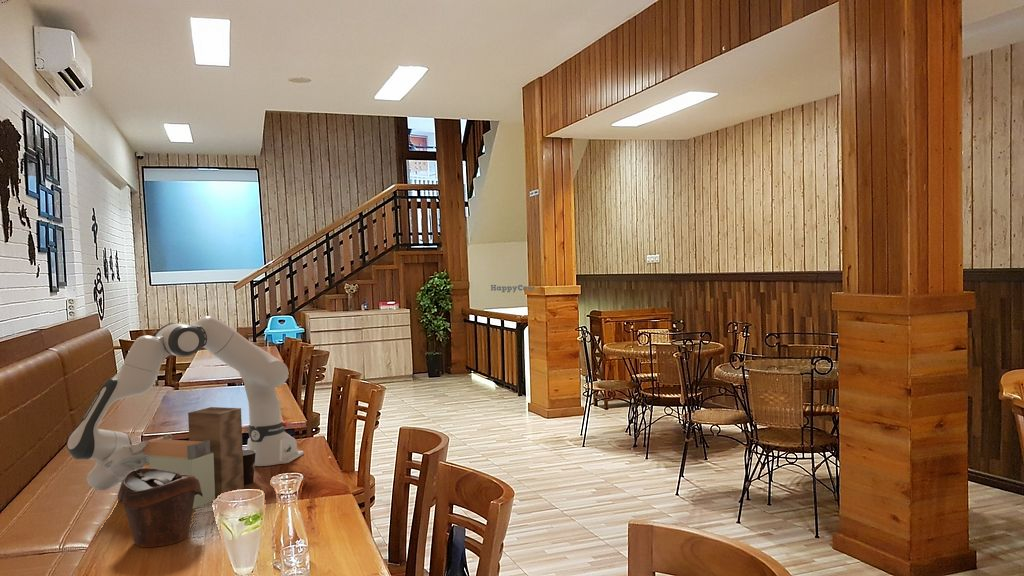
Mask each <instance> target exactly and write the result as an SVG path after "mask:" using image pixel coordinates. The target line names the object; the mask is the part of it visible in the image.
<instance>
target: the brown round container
mask: <svg viewBox="0 0 1024 576" xmlns="http://www.w3.org/2000/svg"><path fill="white" fill-rule="evenodd" d="M196 494H199V495H201V496H202V497H203V494H202V491H201V487H200V483H199V480H198V479H196V478H195V476H190V475H184V474H180V473H176V472H171V471H166V470H158V469H151V468H150V467H148V468H144V467H143V468H141V469H136V470H133V471H131V472H129V473H128V474H127V475H126V476H125V477H124V479H123V480H122V482H121V483H120V487H119V490H118V494H117V502H118V503H122V504H123V507H124V509H125V514H126V517H127V521H128V525H129V529H130V531H131V532H130V533H131V535H132V538H133V543H134V544H135V546H138V547H140V548H144V549H145V548H159V547H165V546H169V545H174V544H176V543H179V542H181V541H184V540H185V539H186V538H187V537H188V536H189V532H190V531H189V530H190V524H191V518H192V513H193V510H194V509H193V503H194V497H195V495H196Z"/></svg>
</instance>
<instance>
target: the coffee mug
mask: <svg viewBox="0 0 1024 576" xmlns="http://www.w3.org/2000/svg"><path fill="white" fill-rule="evenodd" d="M255 455H256V451H255V450H247V449H243V476H244V486H247V485H248V486H249V485H251V484H252V483H254V475H255V467H256V466H255Z"/></svg>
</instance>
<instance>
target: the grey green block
mask: <svg viewBox="0 0 1024 576" xmlns="http://www.w3.org/2000/svg"><path fill="white" fill-rule="evenodd" d="M148 466H149V467H148V468H151V469H158V470H166V471H171V472H176V473H180V474H184V475H190V476H195V478H196V479H198V480H199V483H200V487H201V491H202V494H203V497H202V496H201V495H199V494H196V495H195V497H194V503H193V509H192V510H194V509H196V508H199V507H202V506H204V505H207V504H209V503H211V502H215V501H216V497H215V481H214V453H209V454H206V455H203V456H200V457H197V458H194V459H191V460H189V459H188V457H173V456H157V455H155V456H152V457H149V465H148Z"/></svg>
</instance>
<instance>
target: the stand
mask: <svg viewBox="0 0 1024 576" xmlns="http://www.w3.org/2000/svg"><path fill="white" fill-rule="evenodd" d="M187 418H188V419H187V420H188V441H205V440H210V453H214V481H215V498H218V497H217V496H218V495H220V494H221V493H224V492H228V491H232V490H237V489H241V490H244V489H245V485H244V476H243V450H244V449H243V427H242V426H243V422H242V407H241V408H240V407H222V406H220V407H218V406H217V407H216V406H211V407H207V408H202V409H198V410H194V411H190V412H188V413H187Z"/></svg>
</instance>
